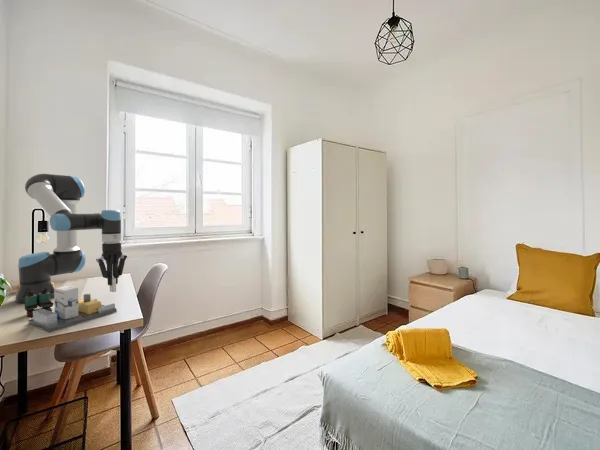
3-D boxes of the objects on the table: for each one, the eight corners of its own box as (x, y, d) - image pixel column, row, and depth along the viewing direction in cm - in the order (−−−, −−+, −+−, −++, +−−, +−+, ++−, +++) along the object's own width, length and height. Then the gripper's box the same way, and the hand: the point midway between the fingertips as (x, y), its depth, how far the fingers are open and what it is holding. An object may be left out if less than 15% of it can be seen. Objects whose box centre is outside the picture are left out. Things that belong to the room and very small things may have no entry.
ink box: (54, 316, 113) (52, 288, 113) (68, 312, 118) (67, 285, 117) (65, 319, 110) (64, 290, 109) (80, 315, 114) (78, 287, 114)
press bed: (28, 323, 110) (27, 310, 109) (94, 305, 131) (94, 294, 130) (49, 332, 101) (48, 317, 101) (116, 311, 122) (116, 299, 122)
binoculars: (27, 296, 113) (22, 290, 119) (28, 321, 114) (22, 313, 120) (55, 291, 120) (49, 285, 126) (56, 314, 122) (50, 307, 127)
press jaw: (73, 309, 121) (73, 294, 120) (86, 306, 125) (86, 291, 125) (88, 314, 115) (87, 298, 115) (101, 310, 120) (100, 294, 119)
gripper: (101, 244, 123) (102, 296, 124) (130, 241, 134) (131, 289, 136) (92, 243, 126) (93, 293, 128) (121, 240, 138) (122, 286, 139)
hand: (112, 291), depth 132 cm, fingers closed
